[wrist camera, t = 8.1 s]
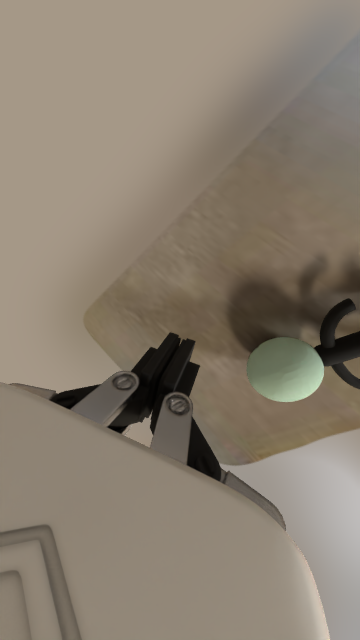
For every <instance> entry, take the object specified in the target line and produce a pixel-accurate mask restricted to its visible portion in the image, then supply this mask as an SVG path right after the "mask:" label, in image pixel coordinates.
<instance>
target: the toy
mask: <svg viewBox="0 0 360 640" xmlns="http://www.w3.org/2000/svg"><path fill="white" fill-rule="evenodd" d="M355 309H356V308H355V305H354V303H353V301H352V300H351V299H349V298H348V299H346V300H343V301H342V302H340V303H338V304H337V305H336V306H334V307H333V308H332V309H331V310H330V311H329V312H328V314H327V315H326V316H325V318H324V320H323V322H322V325H321V329H320V341H321V345H318V346H316V347H314V348H313V347H312V346H310V345H309V344H307V343H306V342H304V341H301V340H299V339H295V338H289V337H279V338H274V339H270V340H268V341H265V342H263V343H262V344H260V345H259V346H258V347H256V348H255V349H254V351H253V352H252V353H251V355H250V357H249V359H248V362H247V376H248V379H249V381H250V383H251V385H252V386H253V387H254V388H255V390H256V391H257V392H259V393H260V394H261V395H263V396H264V397H267V398H269V399H271V400H275V401H281V402H292V401H297V400H300V399H303V398H305V397H307V396H309V395H310V394H312V393H313V392H314V391H315V390H316V389H317V388H318V387H319V385H320V384H321V381H322V379H323V375H324V366H332V368H333V369H334V371H335V372H336V373H337V374H338V375H339V376H340V377H341V378H342V379H343V380H344V381H345V382H347V383H348V384H350V385H351V386H353V387H355V388H358V389H360V379H358V378H357V377H355V376H354V375H352V374H351V373H350V372H349V371H348V370H347V368H346V367H345V366H344V364H343V362H344V361H347V360H351V359H354V358H357V357H360V331H359V332H356V333H353V334H350V335H347V336H344V337H341V338H338V339H335V336H334V335H335V329H336V327H337V325H338V323H339V321H340V320H341V319H342V318H343V317H344V316H345V315H346V314H348V313H349V312H351V311H353V310H355Z"/></svg>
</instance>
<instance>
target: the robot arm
mask: <svg viewBox="0 0 360 640" xmlns="http://www.w3.org/2000/svg"><path fill="white" fill-rule="evenodd" d="M178 336H179V335H177V334H174V333H171V332H170V333H169V334H168V336H167V337H166V338H165V340H164V341H163V342H162V344H161V345H160V346H159V348H158V349H155V348H153V347H151V348H149V350H148V351H147V352H146V353H145V355H144V356H143V357H142V358H141V359H140V361H139V362H138V363H137V364H136V366H135V367H134V368H133V369H132V370H131V372H130V371H120V372H117V373H115V374H113V375H112V376H111V377H110V378H108V379H107V380H106V381H105V382H103V383H102V384H99V385H94V386H89V387H84V388H79V389H75V390H69V391H64V392H61V393H59V394H57V393H56V391H53V390H49V389H43V388H38V387H34V386H28V385H24V384H18V383H12V384H5V383H1V382H0V640H330V636H329V631H328V627H327V623H326V619H325V615H324V611H323V607H322V603H321V600H320V597H319V593H318V590H317V587H316V584H315V581H314V578H313V575H312V573H311V570H310V568H309V566H308V563H307V561H306V559H305V558H304V556H303V554H302V552H301V551H300V549H299V548H298V547H297V545H296V544H295V542H294V541H293V540H292V539H291V537H290V536H289V535H288V534H287V532H286V527H285V523H284V520H283V517H282V515H281V514H280V512H279V510H278V509H277V508H276V507H275V506H274V505H273V504H272V503H271V502H270V501H269V500H267V499H266V498H265V497H263V496H262V495H261V494H259V493H258V492H257V491H255V490H254V489H252V488H251V487H250V486H249V485H247V484H246V483H244V482H243V481H242V480H240V479H239V478H238V477H236V476H235V475H234V474H232V473H231V472H230V471H228V472H226V471H224V470H223V469H222V468H221V467H220V465H219V462H218V460H217V459H216V457H215V455H214V453H213V452H212V450H211V448H210V446H209V445H208V443H207V441H206V439H205V438H204V436H203V434H202V433H201V431H200V429H199V427H198V426H197V424H196V422H195V420H194V419H193V417H192V413H193V403H192V401H191V399H190V398H189V396H190V393H191V390H192V387H193V384H194V381H195V378H196V376H197V373H198V370H199V367H200V365H197V364H195V363H192V362H189V361H190V358H191V355H192V351H193V348H194V345H195V341H193V340H191V339H188V338H187V339H186V340H184V339H183V340H182V342H181V344H180V341H181V338H178ZM179 344H180V346H179ZM152 410H153V411H152ZM151 412H152V416H151V425H150V429H151V431H152V434H153V438H152V442H151V446H150V448H149V447H147V446H145V445H143V444H141V443H139V442H137V441H134V440H132V439H130V438H128V437H126V436H125V435H126V433H127V432H128V431H129V430H130V428H131V426H132V424H133V423H137V422H143V420H144V418H145V417H146V418H149V416H150V414H151Z"/></svg>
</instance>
